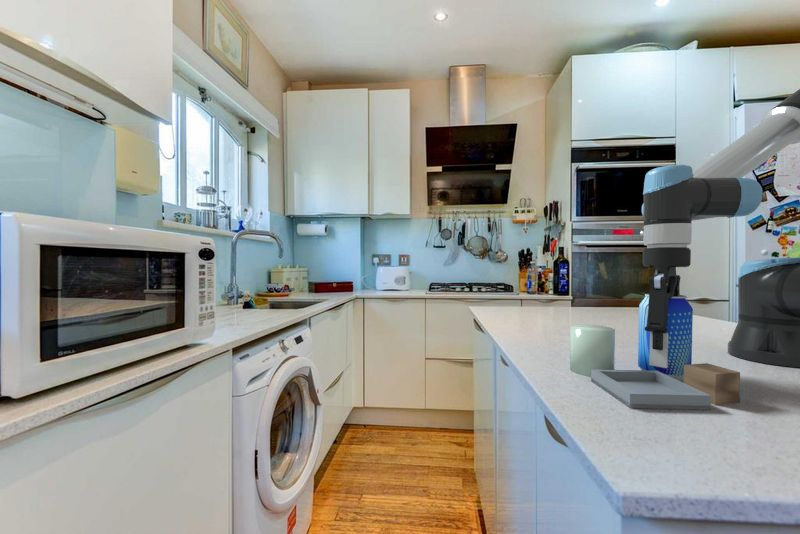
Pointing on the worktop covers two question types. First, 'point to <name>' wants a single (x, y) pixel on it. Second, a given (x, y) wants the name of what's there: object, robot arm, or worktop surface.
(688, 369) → the walnut block
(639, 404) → the slate tray
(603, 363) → the pale green cylinder
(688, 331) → the beer can
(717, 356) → the worktop surface
